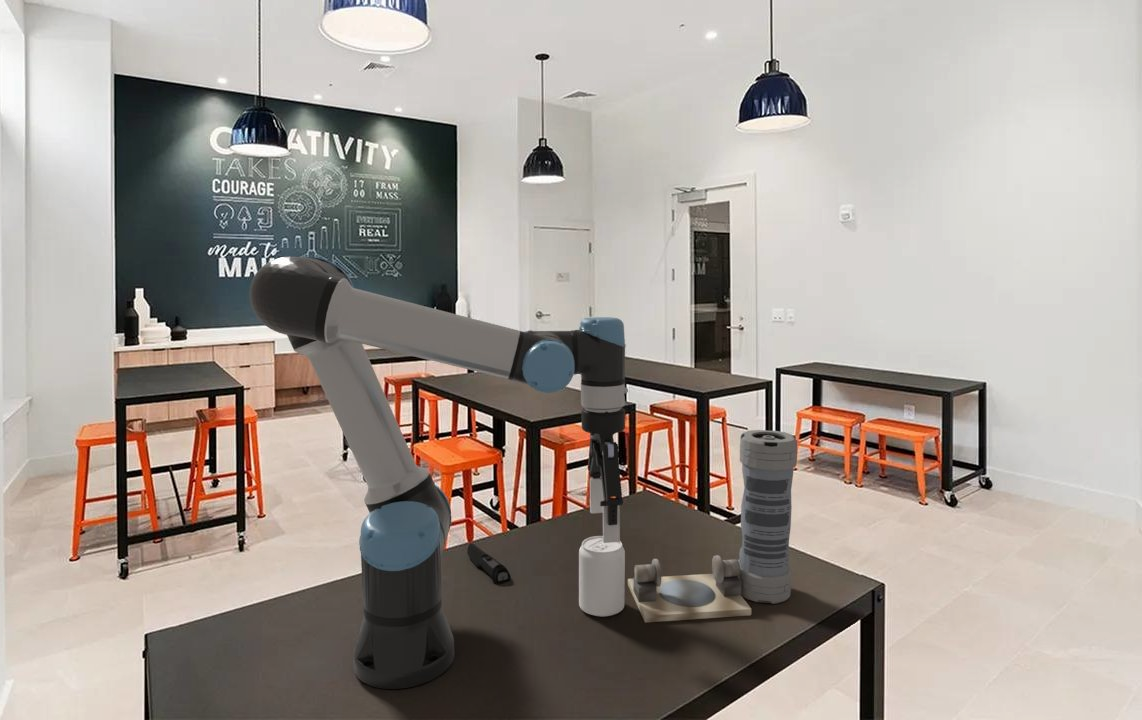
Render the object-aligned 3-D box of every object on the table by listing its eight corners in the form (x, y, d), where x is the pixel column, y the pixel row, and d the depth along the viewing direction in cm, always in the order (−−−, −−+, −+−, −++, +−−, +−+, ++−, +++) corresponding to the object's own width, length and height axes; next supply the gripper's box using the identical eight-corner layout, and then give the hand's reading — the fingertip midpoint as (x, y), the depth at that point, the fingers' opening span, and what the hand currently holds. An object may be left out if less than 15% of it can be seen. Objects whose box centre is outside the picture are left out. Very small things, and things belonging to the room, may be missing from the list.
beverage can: (633, 607, 119) (634, 543, 118) (604, 624, 114) (604, 557, 112) (599, 592, 125) (599, 531, 123) (569, 608, 119) (569, 544, 118)
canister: (793, 607, 119) (801, 444, 115) (736, 602, 121) (741, 441, 117) (787, 582, 129) (794, 430, 125) (733, 577, 131) (739, 428, 127)
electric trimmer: (479, 554, 143) (479, 540, 142) (512, 582, 130) (512, 566, 129) (463, 558, 141) (462, 544, 140) (495, 586, 128) (494, 571, 127)
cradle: (645, 622, 114) (645, 578, 113) (627, 584, 128) (628, 545, 127) (751, 615, 117) (752, 572, 116) (723, 578, 130) (724, 540, 129)
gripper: (641, 423, 103) (641, 554, 105) (611, 393, 127) (611, 500, 130) (593, 425, 102) (594, 557, 105) (572, 395, 126) (573, 503, 129)
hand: (604, 526), depth 117 cm, fingers open, 13 cm apart
